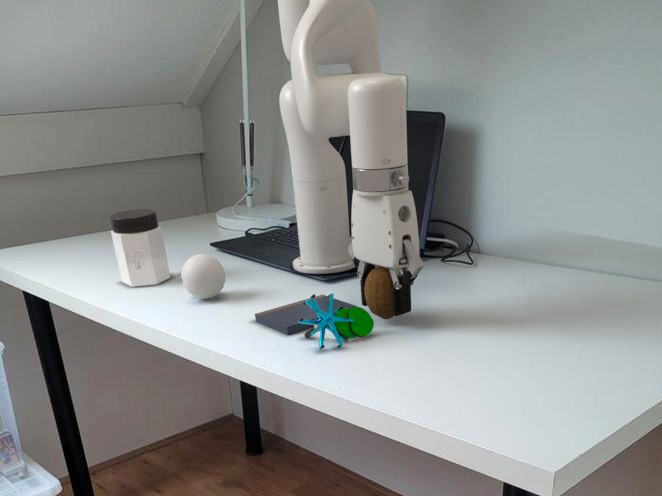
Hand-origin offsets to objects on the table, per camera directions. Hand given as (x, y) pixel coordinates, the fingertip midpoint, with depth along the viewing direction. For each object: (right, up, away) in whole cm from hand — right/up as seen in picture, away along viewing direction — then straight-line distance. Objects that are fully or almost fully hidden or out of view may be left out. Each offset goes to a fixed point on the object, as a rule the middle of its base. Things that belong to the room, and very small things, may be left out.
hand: (386, 307), depth 111 cm
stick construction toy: (-8, -6, -4) cm, 10 cm away
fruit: (0, -2, +1) cm, 2 cm away
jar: (-44, +12, +29) cm, 54 cm away
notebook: (-12, 0, +5) cm, 13 cm away
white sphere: (-31, +6, +18) cm, 36 cm away
